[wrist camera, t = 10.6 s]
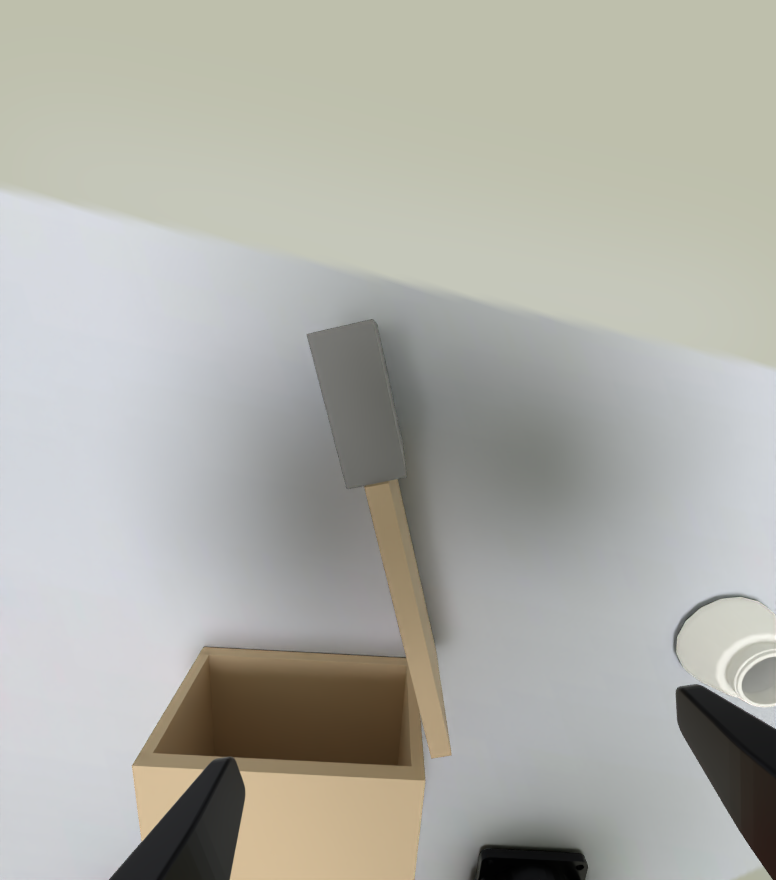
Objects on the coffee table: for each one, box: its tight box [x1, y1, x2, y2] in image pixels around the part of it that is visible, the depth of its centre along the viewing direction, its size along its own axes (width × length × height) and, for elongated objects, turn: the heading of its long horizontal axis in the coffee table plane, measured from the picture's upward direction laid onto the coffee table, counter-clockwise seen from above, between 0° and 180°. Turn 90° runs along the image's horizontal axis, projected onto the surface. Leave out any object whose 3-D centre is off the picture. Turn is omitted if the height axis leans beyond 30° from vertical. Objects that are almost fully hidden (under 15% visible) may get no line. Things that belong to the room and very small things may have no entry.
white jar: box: [676, 597, 776, 707], centre depth 19 cm, size 5×3×5 cm
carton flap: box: [307, 319, 451, 759], centre depth 16 cm, size 16×2×5 cm, turn 12°
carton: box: [132, 647, 425, 880], centre depth 19 cm, size 11×10×6 cm
